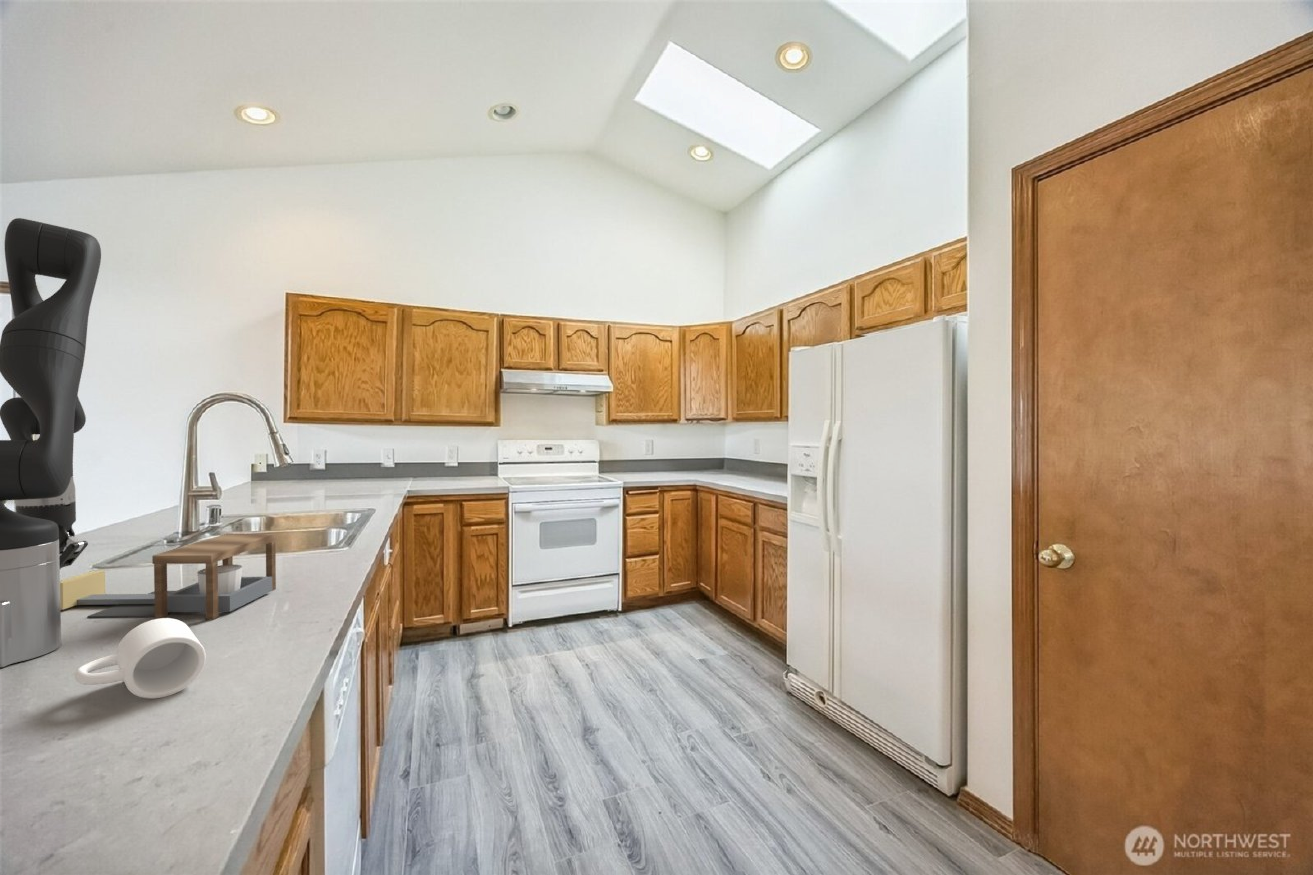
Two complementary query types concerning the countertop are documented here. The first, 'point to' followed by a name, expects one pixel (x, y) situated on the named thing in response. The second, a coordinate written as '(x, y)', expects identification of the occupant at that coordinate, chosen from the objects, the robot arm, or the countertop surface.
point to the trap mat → (127, 610)
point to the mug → (151, 660)
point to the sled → (184, 600)
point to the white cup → (223, 579)
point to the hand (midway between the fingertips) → (48, 589)
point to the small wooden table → (210, 565)
